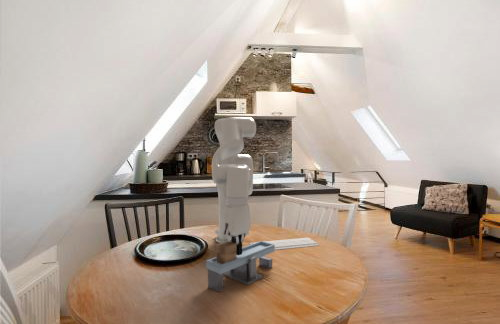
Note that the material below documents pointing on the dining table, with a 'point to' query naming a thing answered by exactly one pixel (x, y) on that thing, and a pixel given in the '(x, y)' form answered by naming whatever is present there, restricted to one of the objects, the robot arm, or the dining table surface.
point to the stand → (239, 273)
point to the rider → (226, 252)
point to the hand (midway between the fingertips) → (237, 253)
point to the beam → (241, 257)
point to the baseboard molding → (292, 243)
